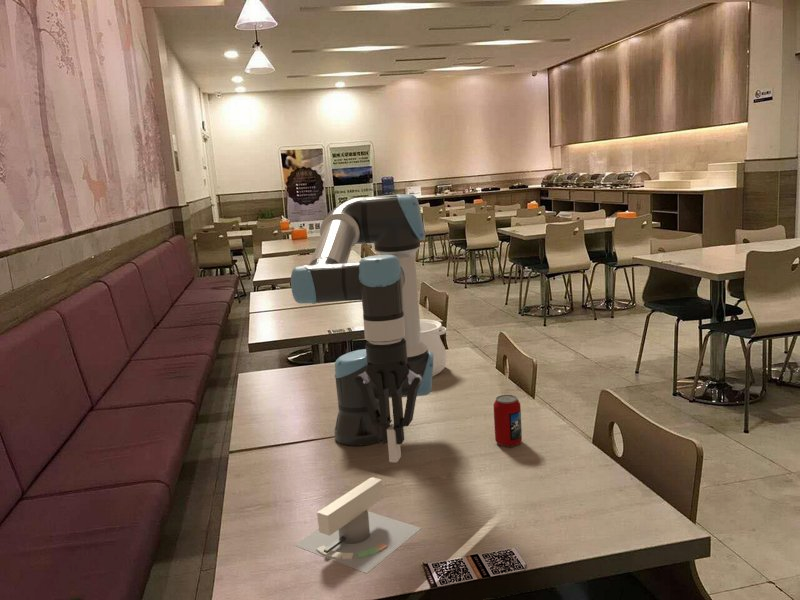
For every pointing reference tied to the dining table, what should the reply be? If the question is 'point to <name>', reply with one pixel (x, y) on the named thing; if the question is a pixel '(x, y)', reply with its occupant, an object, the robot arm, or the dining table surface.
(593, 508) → the dining table surface
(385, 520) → the tuner board
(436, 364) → the pot
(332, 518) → the rotary bar knob
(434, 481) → the dining table surface
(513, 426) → the beverage can
